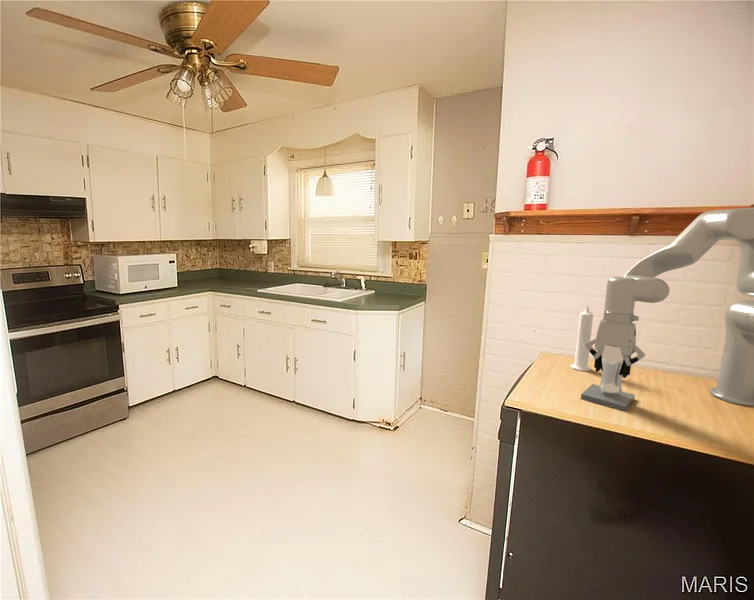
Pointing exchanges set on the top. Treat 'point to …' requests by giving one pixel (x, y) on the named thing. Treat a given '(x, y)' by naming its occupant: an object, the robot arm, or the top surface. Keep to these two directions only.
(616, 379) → the beer glass
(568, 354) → the top surface
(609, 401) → the slate coaster
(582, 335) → the candle
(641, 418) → the top surface
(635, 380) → the top surface
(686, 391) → the top surface
